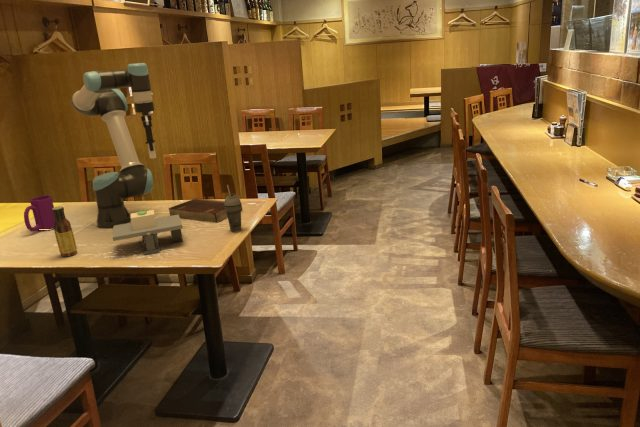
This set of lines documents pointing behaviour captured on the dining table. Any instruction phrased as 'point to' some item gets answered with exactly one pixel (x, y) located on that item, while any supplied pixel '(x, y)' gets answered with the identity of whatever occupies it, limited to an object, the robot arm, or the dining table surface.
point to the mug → (40, 213)
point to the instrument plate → (141, 232)
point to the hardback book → (201, 210)
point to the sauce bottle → (63, 233)
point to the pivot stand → (152, 241)
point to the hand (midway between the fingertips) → (153, 158)
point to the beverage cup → (233, 211)
